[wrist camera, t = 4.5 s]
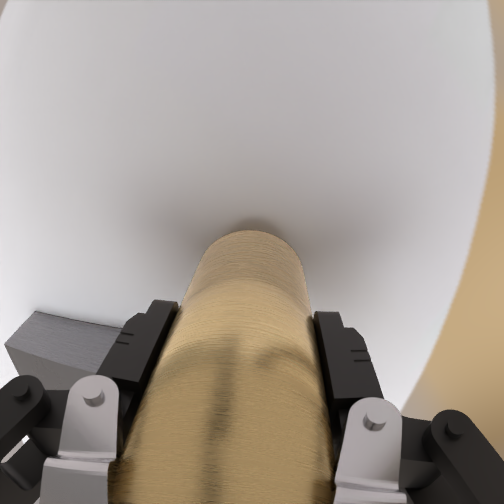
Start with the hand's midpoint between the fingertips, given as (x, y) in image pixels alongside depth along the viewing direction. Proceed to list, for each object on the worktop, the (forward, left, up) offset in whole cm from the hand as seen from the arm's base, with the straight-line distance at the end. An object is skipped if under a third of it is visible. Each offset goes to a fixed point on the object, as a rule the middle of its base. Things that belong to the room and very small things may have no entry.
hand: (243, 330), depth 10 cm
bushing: (0, 0, -3) cm, 3 cm away
